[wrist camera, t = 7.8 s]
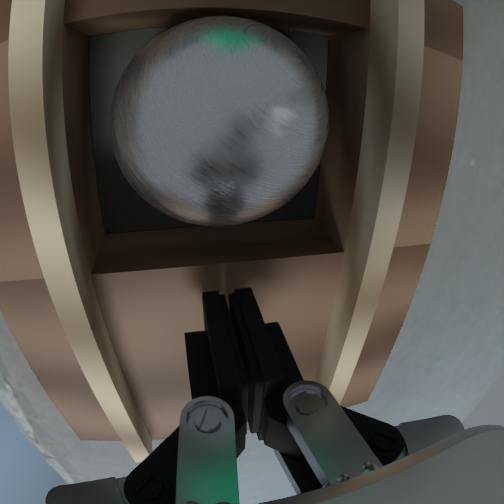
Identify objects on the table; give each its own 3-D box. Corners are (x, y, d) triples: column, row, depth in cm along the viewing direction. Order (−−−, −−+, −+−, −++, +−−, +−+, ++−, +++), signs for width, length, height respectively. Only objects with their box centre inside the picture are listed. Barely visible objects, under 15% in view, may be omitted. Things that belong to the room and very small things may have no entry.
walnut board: (-8, 9, 6) (-72, -5, 2) (416, 10, 10) (490, 5, 6) (84, 401, 17) (79, 460, 13) (349, 368, 21) (376, 418, 17)
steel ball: (321, 239, 5) (159, 286, 10) (389, 135, 9) (260, 194, 13) (127, -32, 4) (52, 130, 8) (282, -18, 7) (180, 78, 12)
